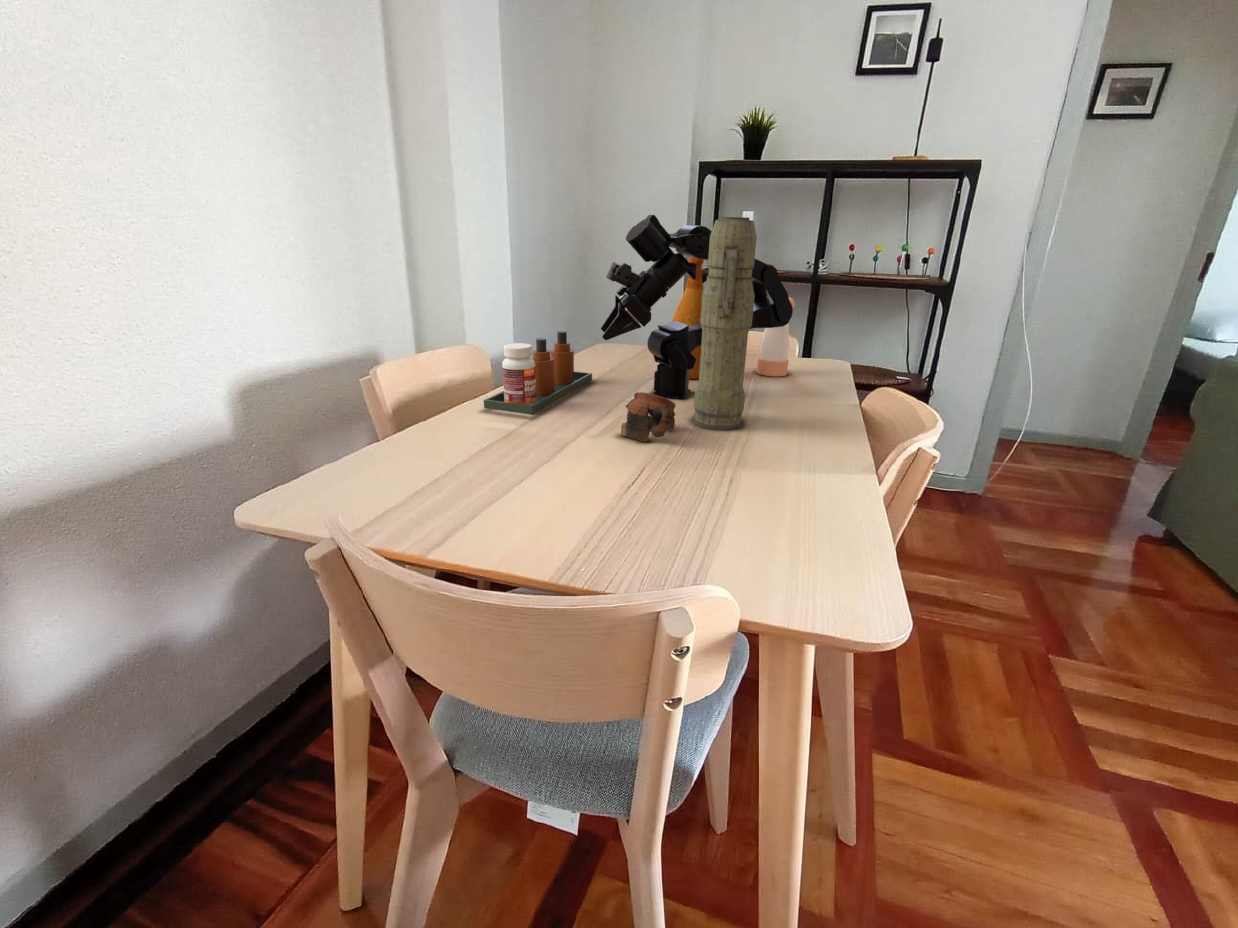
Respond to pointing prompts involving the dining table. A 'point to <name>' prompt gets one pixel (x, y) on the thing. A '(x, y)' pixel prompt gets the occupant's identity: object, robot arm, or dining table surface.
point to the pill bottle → (519, 374)
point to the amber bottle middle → (543, 369)
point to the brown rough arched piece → (642, 422)
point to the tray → (538, 397)
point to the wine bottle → (692, 310)
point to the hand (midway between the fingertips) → (603, 334)
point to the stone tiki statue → (725, 324)
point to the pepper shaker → (774, 350)
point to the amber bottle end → (563, 360)
